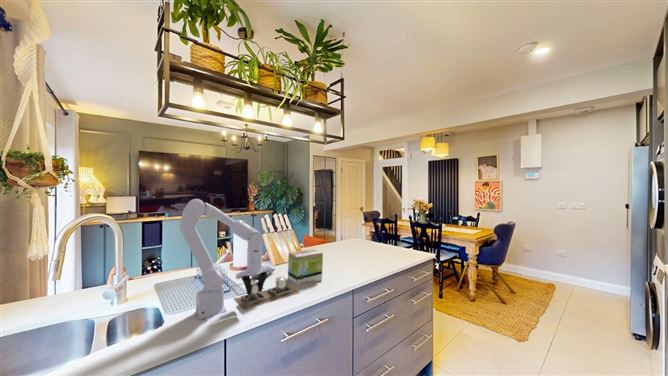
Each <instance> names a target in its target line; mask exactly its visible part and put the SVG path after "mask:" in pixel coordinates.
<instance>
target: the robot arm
mask: <svg viewBox="0 0 668 376" xmlns="http://www.w3.org/2000/svg"><path fill="white" fill-rule="evenodd" d="M202 216H204V217H205V218H214V219H215V220H217V221H219V222H221V223H222V224H225V225H226V226H227V227H229V229H230V232H231V233H232V234H233V235H236V236H237V237H238V238H240V239H242V240H243V241H246V242H247V251H246V255H247V256H246V257H247V258H246V261H247V262H246V267H247V269H246V270H243V271H239V272H236V273H235V279H236V280H240V279H241V281H243V283H244V284H243V285H244V286H245V287H244V288H245V291H246V295H247V294H248V295H250V285H251V282H252V279H251V277H252V276H253V275H258V278H257V282H259V291H260V292H262V291H263V288H264V284H265V282H266V280H267V279H268V277H267V274H266V273H267V272H272V269H273V268H272V266H268V267H264V266H262V264H263V263H262V261H263V260H262V256H263V255H262V254H263V251H262V250H263V249H262V245H263V242H264V236H263V234H262V233H261V232H260V231H258V230H257V229H256V227H254V226H253V227H252V226H250V225H249V224H247V221H246V220H243V219H242V220H241V219H237V220H235V219H234V218H232V217H231V216H229V215H228V214H226V213H224V212H223V211H221V210H220V209H219V208H217V207H216V206H214V205H212V204H210V203H208V202H204V201H203V200H202V199H200V198H193V199H191V200H189V201H188V203H187V204H186V206H185V207H184V208H183V210H182V215H181V219H180V223H179V229H180V232H181V234H182V235H183V237H184V239H185V241H186V244H187V246H188V247H189V249H190V251H191V253H192V255H193V257H194V259H195V261H196V263H197V264H198V266H199V269H200V271H201V274H202V277H203V279H204V286H203V287H202V288H203V289H202V290H199V291H197V292H196V295H195V313H196V314H197V316H198V319H199V320H203V319H207V318H209V317H211V316H212V317H213V316H217V315H219V314H222V313H226V312H228V310H227V308H226V307H225V306H224V302H225V301H224V298H225V297H224V296H225V295H224V294H225V293H224V291H225V289H224V287H225V286H224V279H223V278H224V277H223V274H222V271H221V269H219V268H218V267H217V266H216V264H215V263H214V261H213V259H212V257H211V255H210V254H209V251H208V249H207V247H206V245H205V243H204V242H203V240H202V237H201V235H200V234H199V232H198V230H197V227H196V225H197V223H198V221H199V219H200V218H201V217H202ZM272 273H273V272H272Z"/></svg>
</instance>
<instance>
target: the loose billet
mask: <svg viewBox="0 0 668 376" xmlns="http://www.w3.org/2000/svg"><path fill="white" fill-rule="evenodd" d="M258 298H259V282H258V281H256V282H252V281H251V285H250V295H248V299H249V300H256V299H258Z"/></svg>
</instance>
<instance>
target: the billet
mask: <svg viewBox="0 0 668 376" xmlns="http://www.w3.org/2000/svg"><path fill="white" fill-rule="evenodd" d="M286 283H287V278H286V277H284V276H278V277H276V278H275V287H276V293H277V294H278V293H282V292H286V285H287V284H286Z"/></svg>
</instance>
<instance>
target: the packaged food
mask: <svg viewBox="0 0 668 376" xmlns="http://www.w3.org/2000/svg"><path fill="white" fill-rule="evenodd" d="M263 267H269V266H263ZM274 271H276V268H272V272H267V273H266V274H267V278H269V276H270V275H271V274H273V272H274ZM251 278H252V279H258V275H253V276H251Z"/></svg>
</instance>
